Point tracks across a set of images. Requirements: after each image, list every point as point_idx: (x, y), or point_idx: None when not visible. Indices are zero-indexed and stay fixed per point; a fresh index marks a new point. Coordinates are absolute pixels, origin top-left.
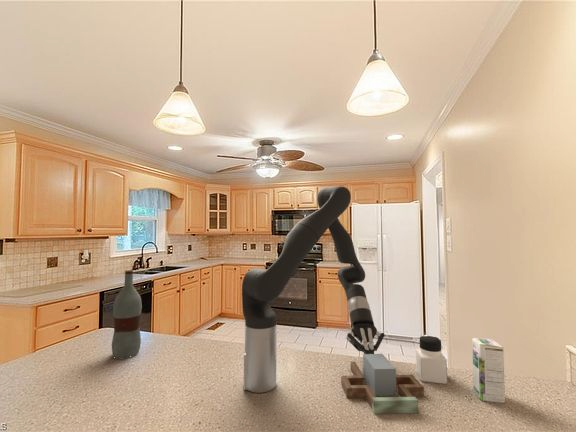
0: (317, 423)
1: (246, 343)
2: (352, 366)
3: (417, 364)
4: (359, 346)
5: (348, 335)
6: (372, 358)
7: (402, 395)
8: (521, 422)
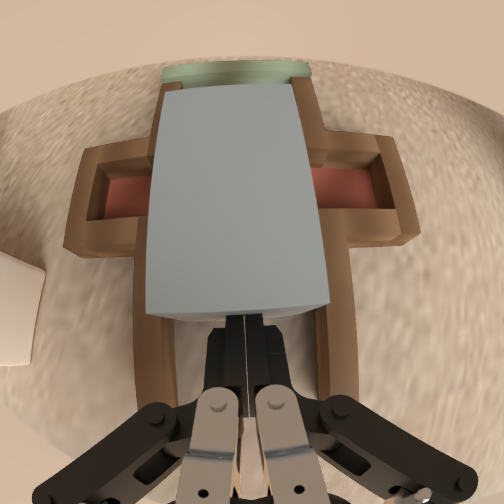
0: (424, 89)
1: None
2: (355, 360)
3: (8, 335)
4: (351, 406)
5: (469, 471)
6: (266, 213)
7: None
8: (10, 115)
